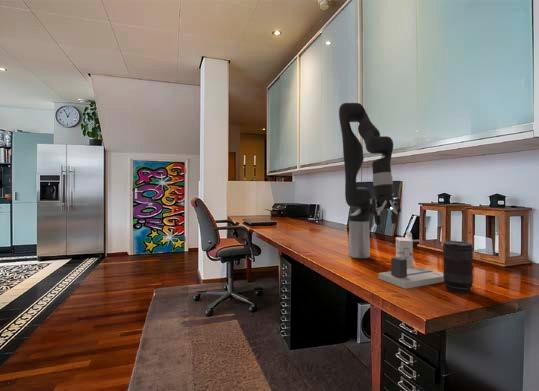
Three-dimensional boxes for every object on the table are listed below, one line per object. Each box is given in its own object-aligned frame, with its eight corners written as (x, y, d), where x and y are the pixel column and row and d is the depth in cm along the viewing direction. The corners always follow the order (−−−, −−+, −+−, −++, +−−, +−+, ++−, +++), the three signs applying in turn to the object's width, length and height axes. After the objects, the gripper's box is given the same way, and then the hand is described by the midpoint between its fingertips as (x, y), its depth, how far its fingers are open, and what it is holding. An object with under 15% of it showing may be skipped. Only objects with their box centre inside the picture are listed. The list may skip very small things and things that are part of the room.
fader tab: (391, 274, 102) (391, 257, 102) (397, 273, 103) (397, 256, 103) (400, 277, 98) (400, 260, 98) (406, 276, 100) (406, 259, 100)
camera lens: (445, 283, 98) (444, 239, 98) (474, 288, 93) (474, 242, 93) (440, 290, 92) (440, 243, 92) (471, 296, 87) (471, 246, 87)
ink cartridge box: (395, 264, 125) (395, 230, 125) (407, 264, 124) (407, 230, 124) (399, 269, 117) (399, 233, 116) (413, 270, 116) (413, 233, 115)
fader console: (378, 278, 105) (378, 272, 105) (421, 271, 113) (421, 266, 113) (405, 288, 94) (405, 282, 94) (450, 280, 102) (450, 274, 102)
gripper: (389, 185, 125) (392, 223, 124) (362, 185, 120) (366, 225, 118) (403, 183, 118) (407, 223, 117) (375, 183, 113) (379, 225, 111)
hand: (386, 224), depth 118 cm, fingers open, 8 cm apart
